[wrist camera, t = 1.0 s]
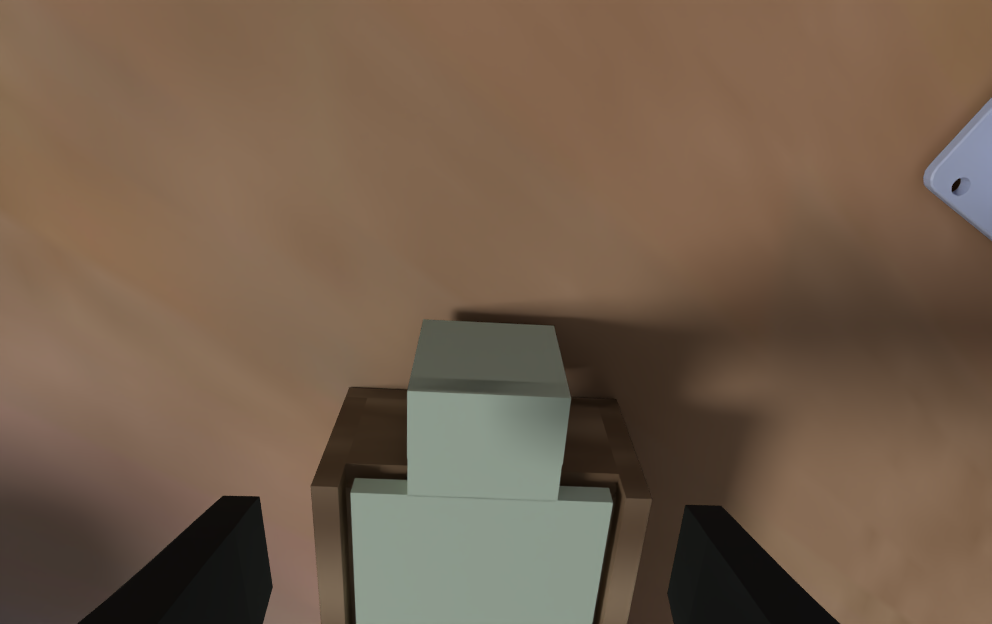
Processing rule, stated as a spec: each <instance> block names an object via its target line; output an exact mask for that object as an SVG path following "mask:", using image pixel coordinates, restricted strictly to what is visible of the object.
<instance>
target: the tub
mask: <svg viewBox="0 0 992 624" xmlns="http://www.w3.org/2000/svg"><path fill="white" fill-rule="evenodd" d="M407 468H408V459H407V390H395V389H372V388H349V390H348V392H347V395H346V398H345V400H344V403H343V405H342V408H341V410H340V413H339V415H338V418H337V420H336V423H335V426H334V428H333V431H332V433H331V436H330V438H329V441H328V443H327V446H326V448H325V451H324V454H323V456H322V459H321V461H320V464H319V466H318V469H317V471H316V474H315V476H314V479H313V482H312V484H311V497H312V511H313V524H314V537H315V550H316V564H317V577H318V590H319V604H320V617H321V624H356V610H355V587H354V564H353V541H352V517H351V494H350V493H351V489H352V486H353V482H354V479H355V478H367V479H393V480H407ZM559 486H575V487H601V488H609V490H610V493H611V497H612V501H613V506H612V512H611V517H610V523H609V529H608V535H607V541H606V547H605V552H604V558H603V564H602V570H601V576H600V582H599V587H598V593H597V599H596V605H595V611H594V616H593V622H592V624H627V621H628V616H629V611H630V606H631V601H632V597H633V592H634V587H635V582H636V577H637V572H638V567H639V562H640V557H641V552H642V547H643V542H644V538H645V533H646V528H647V523H648V518H649V513H650V508H651V503H652V497H651V494H650V491H649V489H648V486H647V483H646V480H645V478H644V475H643V472H642V469H641V467H640V464H639V461H638V458H637V456H636V453H635V450H634V447H633V444H632V442H631V439H630V436H629V433H628V431H627V428H626V425H625V422H624V420H623V417H622V414H621V411H620V409H619V406H618V403H617V400H616V399H599V398H577V397H571V403H570V411H569V419H568V427H567V435H566V443H565V451H564V459H563V465H562V469H561V476H560V484H559Z"/></svg>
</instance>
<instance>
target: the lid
mask: <svg viewBox="0 0 992 624" xmlns="http://www.w3.org/2000/svg"><path fill="white" fill-rule="evenodd" d="M570 403H571V396H570V391H569V387H568V383H567V379H566V375H565V370H564V366H563V362H562V358H561V353H560V349H559V345H558V341H557V337H556V332H555V328H554V326H549V325H528V324H507V323H487V322H466V321H445V320H425V319H423V323H422V328H421V332H420V337H419V341H418V345H417V350H416V354H415V359H414V363H413V368H412V372H411V377H410V381H409V386H408V390H407V459H408V468H407V480H393V479H367V478H355V479H354V482H353V486H352V489H351V493H350V494H351V517H352V541H353V564H354V587H355V610H356V624H592V622H593V616H594V611H595V605H596V599H597V593H598V587H599V582H600V576H601V570H602V564H603V558H604V552H605V547H606V541H607V535H608V529H609V523H610V517H611V512H612V506H613V501H612V497H611V493H610V490H609V488H601V487H575V486H559V484H560V476H561V469H562V465H563V459H564V451H565V443H566V435H567V427H568V419H569V411H570Z"/></svg>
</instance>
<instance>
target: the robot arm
mask: <svg viewBox="0 0 992 624" xmlns="http://www.w3.org/2000/svg"><path fill="white" fill-rule="evenodd" d="M959 178H960V179H961V183H960V185H959V187H958V189H956V190H955V191H953V192H952V191H951V190H952V185H953V183H954V182H955V181H956V180H957V179H959ZM923 180H924V185H925V186H926V187H927V189H928V190H930V191H931V192H932V193H933V194H934V195H936V196H937V197H938V198H939V199H941V200H942V201H943V202H944V203H946V204H947V205H948V206H949V207H950V208H952V209H953V210H954V211H955V212H957V213H958V214H959V215H960V216H962V217H963V218H964V219H965V220H966V221H968V222H969V223H970V224H971V225H973V226H974V227H975V228H976V229H978V230H979V231H980V232H981V233H982V234H984V235H985V236H986V237H987V238H989V239H990V240H991V241H992V98H991V99H990V100H989V101H988V102H987V103H986V104H985V105H984V106H983V107H982V108H981V110H980V111H979V112H978V113H977V114H976V115H975V116H974V117H973V118H972V119H971V120H970V121H969V123H968V124H967V125H966V126H965V127H964V128H963V129H962V130H961V131H960V132H959V133H958V134H957V136H956V137H955V138H954V139H953V140H952V141H951V142H950V143H949V144H948V145H947V146H946V147H945V149H944V150H943V151H942V152H941V153H940V154H939V155H938V156H937V157H936V158H935V159H934V160H933V162H932V163H931V164H930V165H929V166H928V168H927V169H926V171H925V173H924V177H923ZM272 588H273V586H272V579H271V572H270V565H269V558H268V552H267V545H266V538H265V531H264V524H263V517H262V510H261V503H260V497H256V496H222V497H221V498H220V499H219V500H218V501H217V502H215V503H214V504H213V505H212V506H211V507H210V508H209V509H207V510H206V511H205V512H204V513H203V514H202V515H201V516H200V517H199V518H197V519H196V520H195V521H194V522H193V523H192V524H191V525H190V526H189V527H188V528H186V529H185V530H184V531H183V532H182V533H181V534H180V535H179V536H178V537H177V538H176V539H174V540H173V541H172V542H171V543H170V544H169V545H168V546H167V547H166V548H165V549H163V550H162V551H161V552H160V553H159V554H158V555H157V556H156V557H155V558H154V559H152V560H151V561H150V562H149V563H148V564H147V565H146V566H144V567H143V568H142V569H141V570H140V571H139V572H138V573H136V574H135V575H134V576H133V577H132V578H131V579H130V580H129V581H127V582H126V583H125V584H124V585H123V586H122V587H121V588H119V589H118V590H117V591H116V592H115V593H114V594H113V595H111V596H110V597H109V598H108V599H107V600H106V601H104V602H103V603H102V604H101V605H100V606H98V607H97V608H96V609H95V610H93V611H92V612H91V613H90V614H89V615H87V616H86V617H85V618H84V619H82V620H81V621H80V622H79V623H78V624H263V621H264V617H265V613H266V610H267V606H268V602H269V599H270V595H271V591H272ZM667 594H668V598H669V603H670V608H671V612H672V617H673V622H674V624H840V623H839V622H838V621H837V620H836V619H834V618H833V617H832V616H831V615H830V614H829V613H828V612H827V611H826V610H825V609H824V608H823V607H822V606H821V605H820V604H818V603H817V602H816V601H815V600H814V599H813V598H812V597H811V596H810V595H809V594H808V593H807V592H806V591H805V590H804V589H803V588H802V587H801V586H800V585H799V584H798V583H797V582H796V581H795V580H794V579H793V578H792V577H791V576H790V575H789V574H788V573H787V572H786V571H785V570H784V569H783V568H782V567H781V566H780V565H779V564H778V563H777V562H776V561H775V560H774V559H773V558H772V557H771V556H770V555H769V554H768V553H767V552H766V551H765V550H764V549H763V548H762V547H761V546H760V545H759V544H758V543H757V542H756V541H755V540H754V539H753V538H752V537H751V536H750V535H749V534H748V533H747V532H746V531H745V530H744V529H743V528H742V527H741V525H740V524H739V523H738V522H737V521H736V520H735V519H734V518H733V517H732V516H731V515H730V514H729V513H728V512H727V511H726V510H725V509H724V508H723V507H722V506H708V505H685V509H684V514H683V519H682V524H681V529H680V534H679V539H678V544H677V549H676V554H675V559H674V563H673V568H672V573H671V578H670V583H669V588H668V593H667Z"/></svg>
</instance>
